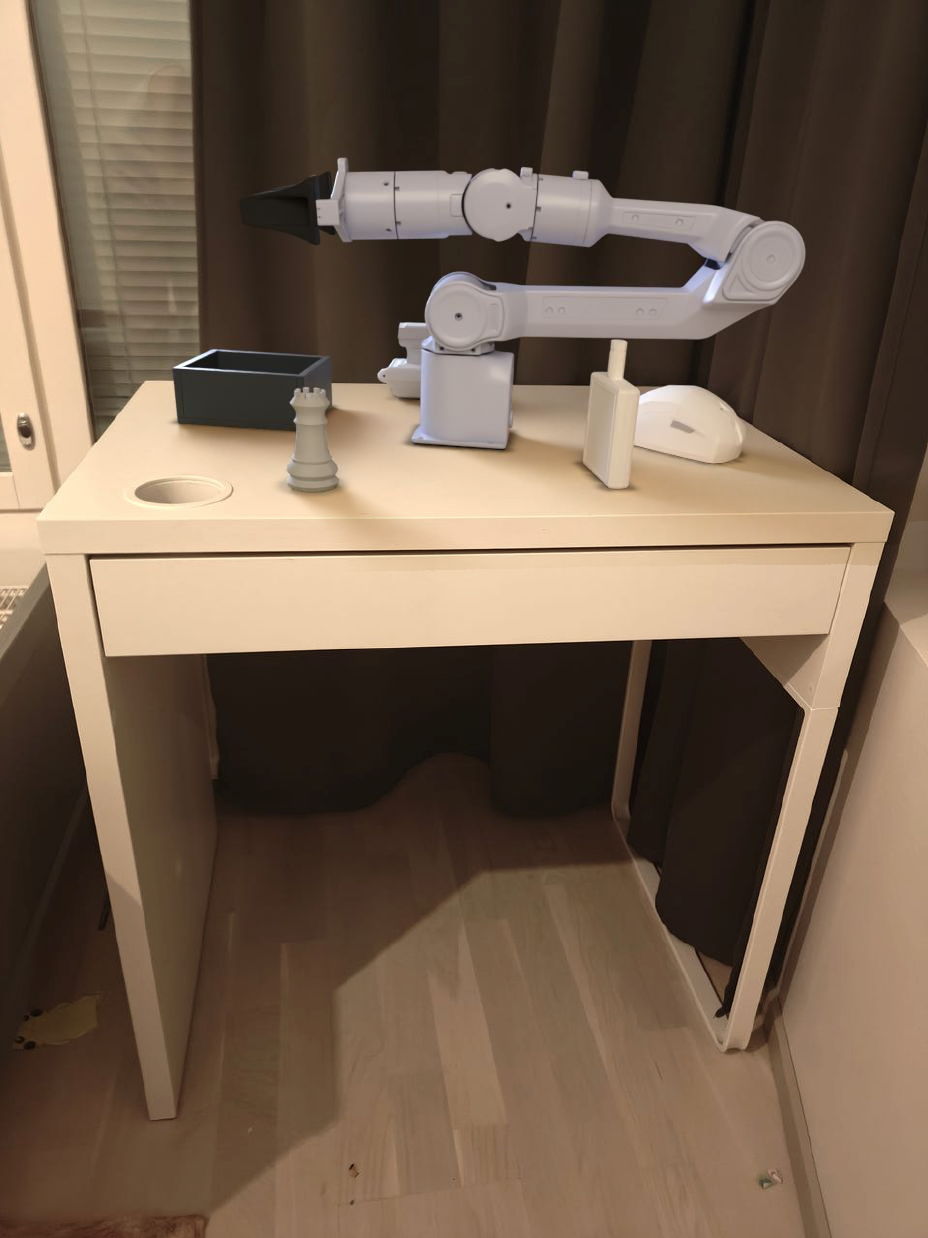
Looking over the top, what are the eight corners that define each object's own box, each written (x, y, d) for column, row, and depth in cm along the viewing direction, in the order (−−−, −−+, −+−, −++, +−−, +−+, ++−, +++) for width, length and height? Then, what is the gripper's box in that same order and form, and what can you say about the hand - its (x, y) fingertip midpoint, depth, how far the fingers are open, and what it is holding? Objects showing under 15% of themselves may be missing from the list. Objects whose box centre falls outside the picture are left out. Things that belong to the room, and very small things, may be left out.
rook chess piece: (350, 484, 78) (348, 390, 75) (315, 496, 75) (312, 399, 71) (310, 474, 80) (307, 382, 77) (275, 486, 77) (270, 390, 73)
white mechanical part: (452, 392, 113) (455, 321, 110) (450, 403, 107) (452, 329, 104) (380, 388, 113) (380, 318, 110) (374, 400, 107) (374, 326, 104)
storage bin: (332, 406, 104) (331, 356, 101) (305, 431, 93) (303, 376, 91) (216, 398, 105) (212, 348, 102) (177, 422, 94) (172, 367, 92)
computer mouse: (720, 467, 88) (731, 402, 85) (608, 439, 95) (614, 378, 93) (750, 455, 92) (762, 393, 89) (641, 429, 100) (648, 371, 97)
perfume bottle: (580, 463, 87) (593, 333, 82) (600, 462, 87) (614, 333, 82) (607, 489, 80) (623, 348, 75) (629, 488, 80) (646, 349, 75)
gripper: (400, 154, 89) (262, 156, 89) (387, 159, 76) (225, 161, 76) (403, 233, 92) (270, 234, 92) (391, 250, 79) (237, 251, 80)
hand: (250, 207), depth 85 cm, fingers open, 7 cm apart
